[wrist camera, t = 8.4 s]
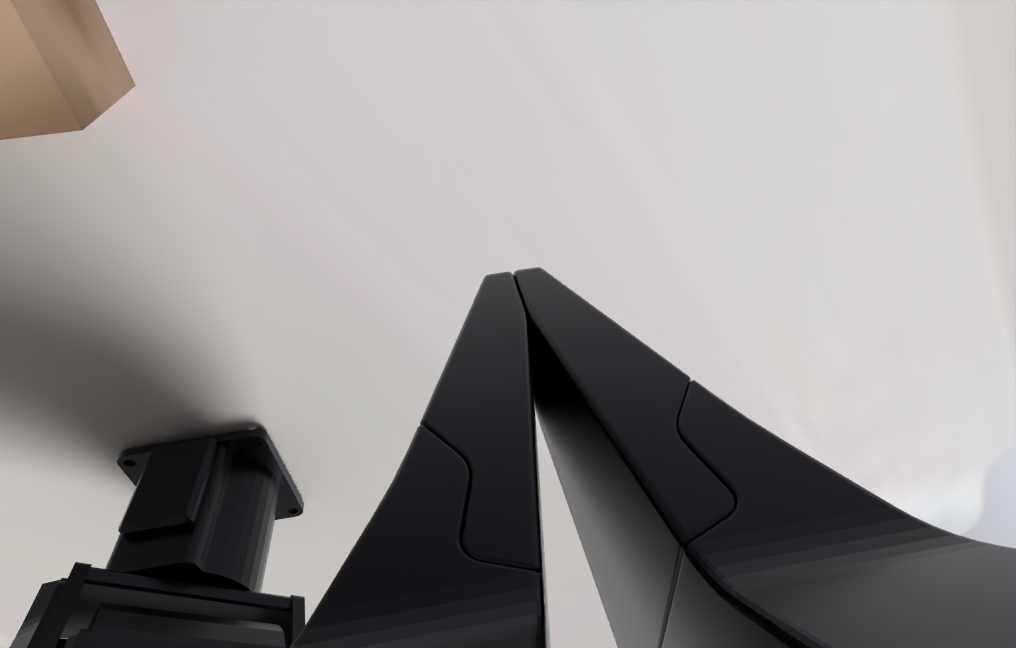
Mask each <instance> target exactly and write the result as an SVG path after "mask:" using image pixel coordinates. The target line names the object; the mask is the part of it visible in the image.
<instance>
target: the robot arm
mask: <svg viewBox="0 0 1016 648" xmlns="http://www.w3.org/2000/svg"><path fill="white" fill-rule="evenodd" d="M690 381H691V379H690V377H689V376H688V375H687V374H685V373H684V372H682V371H681V370H680V369H678V368H677V367H676V366H674V365H673V364H672V363H670V362H669V361H667V360H666V359H665V358H663V357H662V356H661V355H659V354H658V353H657V352H655V351H654V350H652V349H651V348H650V347H648V346H647V345H646V344H644V343H643V342H642V341H640V340H639V339H637V338H636V337H635V336H633V335H632V334H631V333H629V332H628V331H627V330H625V329H624V328H622V327H621V326H620V325H618V324H617V323H616V322H614V321H613V320H612V319H610V318H609V317H607V316H606V315H605V314H603V313H602V312H601V311H599V310H598V309H597V308H595V307H594V306H592V305H591V304H590V303H588V302H587V301H586V300H584V299H583V298H582V297H580V296H579V295H577V294H576V293H575V292H573V291H572V290H571V289H569V288H568V287H567V286H565V285H564V284H562V283H561V282H560V281H558V280H557V279H556V278H554V277H553V276H552V275H550V274H549V273H547V272H546V271H545V270H543V269H542V268H539V267H536V268H530V269H523V270H517V271H515V272H514V274H512V273H510V272H503V273H497V274H490V275H486V276H485V277H484V279H483V281H482V284H481V286H480V288H479V290H478V293H477V295H476V297H475V299H474V302H473V304H472V306H471V309H470V311H469V313H468V315H467V318H466V320H465V322H464V324H463V327H462V329H461V331H460V334H459V336H458V338H457V340H456V343H455V345H454V347H453V349H452V352H451V354H450V356H449V358H448V361H447V363H446V365H445V368H444V370H443V372H442V374H441V377H440V379H439V381H438V383H437V386H436V388H435V390H434V393H433V395H432V397H431V399H430V402H429V404H428V406H427V408H426V411H425V413H424V415H423V418H422V420H421V422H420V425H421V426H419V427H418V428H417V431H416V433H415V435H414V437H413V440H412V442H411V444H410V446H409V449H408V451H407V453H406V455H405V457H404V459H403V461H402V463H401V465H400V467H399V469H398V471H397V473H396V475H395V477H394V479H393V482H392V483H391V485H390V487H389V488H388V490H387V492H386V494H385V495H384V497H383V499H382V501H381V502H380V504H379V506H378V508H377V509H376V511H375V513H374V515H373V516H372V518H371V520H370V521H369V523H368V525H367V526H366V528H365V529H364V531H363V533H362V534H361V536H360V538H359V539H358V541H357V543H356V544H355V546H354V547H353V549H352V551H351V552H350V554H349V556H348V557H347V559H346V560H345V562H344V564H343V565H342V567H341V569H340V570H339V572H338V574H337V575H336V577H335V578H334V580H333V582H332V583H331V585H330V587H329V588H328V590H327V591H326V593H325V595H324V596H323V598H322V600H321V601H320V603H319V605H318V606H317V608H316V609H315V611H314V613H313V614H312V616H311V617H310V619H309V621H308V622H307V624H306V625H305V599H304V597H301V596H295V595H291V596H290V597H286V596H279V595H273V594H266V593H261V589H262V583H263V578H264V573H265V568H266V563H267V557H268V552H269V547H270V542H271V537H272V532H273V526H274V521H275V520H278V519H284V518H290V517H296V516H299V515H301V514H302V513H303V509H304V502H303V501H302V499H301V497H300V495H299V493H298V491H297V489H296V487H295V485H294V483H293V482H292V480H291V478H290V476H289V474H288V472H287V470H286V468H285V466H284V465H283V463H282V461H281V459H280V457H279V455H278V453H277V451H276V449H275V448H274V446H273V444H272V442H271V440H270V438H269V436H268V435H267V433H266V432H264V431H262V430H258V429H254V430H247V431H240V432H234V433H228V434H221V435H215V436H208V437H202V438H196V439H189V440H183V441H177V442H170V443H164V444H157V445H151V446H145V447H138V448H132V449H127V450H123V451H122V452H121V454H120V456H119V458H118V460H117V463H118V465H119V467H120V468H121V469H122V470H123V471H124V473H125V474H126V475H127V476H128V477H129V479H130V480H131V481H132V482H133V483H134V485H135V486H136V488H135V491H134V493H133V495H132V498H131V500H130V502H129V505H128V507H127V509H126V512H125V514H124V516H123V519H122V521H121V523H120V526H119V530H118V531H119V532H120V535H119V537H118V540H117V542H116V545H115V547H114V549H113V552H112V554H111V556H110V559H109V561H108V564H107V566H106V568H105V569H100V568H94V567H91V565H92V564H85V563H79V562H75V564H74V566H73V569H72V571H71V573H70V575H69V577H68V579H67V578H62V579H61V580H57V581H53V582H49V583H44V584H42V586H41V588H40V590H39V592H38V594H37V596H36V598H35V600H34V602H33V604H32V606H31V608H30V610H29V612H28V614H27V616H26V618H25V620H24V622H23V624H22V626H21V628H20V630H19V631H18V633H17V635H16V637H15V639H14V641H13V643H12V644H11V646H10V648H550V632H549V617H548V602H547V587H546V572H545V556H544V541H543V526H542V511H541V496H540V480H539V465H538V450H537V435H536V420H535V410H536V413H537V416H538V420H539V423H540V426H541V429H542V432H543V434H544V437H545V440H546V443H547V446H548V449H549V452H550V455H551V457H552V460H553V463H554V466H555V469H556V472H557V475H558V477H559V480H560V483H561V486H562V489H563V492H564V495H565V497H566V500H567V503H568V506H569V509H570V512H571V515H572V518H573V520H574V523H575V526H576V529H577V532H578V535H579V538H580V540H581V543H582V546H583V549H584V552H585V555H586V558H587V560H588V563H589V566H590V569H591V572H592V575H593V578H594V581H595V583H596V586H597V589H598V592H599V595H600V598H601V601H602V603H603V606H604V609H605V612H606V615H607V618H608V621H609V623H610V626H611V629H612V632H613V635H614V638H615V641H616V644H617V646H618V648H1016V549H1015V548H1009V547H1004V546H999V545H994V544H989V543H985V542H980V541H976V540H973V539H969V538H966V537H962V536H959V535H956V534H953V533H951V532H948V531H945V530H943V529H940V528H938V527H935V526H933V525H930V524H928V523H926V522H924V521H922V520H920V519H918V518H915V517H913V516H911V515H910V514H908V513H906V512H904V511H902V510H901V509H899V508H897V507H895V506H893V505H892V504H890V503H888V502H886V501H885V500H883V499H881V498H880V497H878V496H876V495H875V494H873V493H871V492H870V491H868V490H866V489H865V488H863V487H861V486H860V485H858V484H856V483H854V482H853V481H851V480H849V479H848V478H846V477H844V476H843V475H841V474H839V473H838V472H836V471H834V470H833V469H831V468H829V467H828V466H826V465H824V464H823V463H821V462H819V461H817V460H816V459H814V458H812V457H811V456H809V455H807V454H806V453H804V452H802V451H801V450H799V449H797V448H796V447H794V446H792V445H791V444H789V443H787V442H786V441H784V440H782V439H781V438H779V437H778V436H776V435H774V434H773V433H771V432H770V431H768V430H766V429H765V428H763V427H762V426H760V425H758V424H757V423H755V422H754V421H752V420H750V419H749V418H747V417H746V416H744V415H743V414H742V413H740V412H739V411H737V410H736V409H734V408H733V407H731V406H730V405H729V404H727V403H726V402H724V401H723V400H721V399H720V398H718V397H717V396H716V395H714V394H713V393H711V392H710V391H709V390H707V389H706V388H705V387H703V386H702V385H701V384H699V383H698V382H696V381H695V380H692V381H691V382H690ZM534 406H535V407H534ZM62 638H68V639H62Z"/></svg>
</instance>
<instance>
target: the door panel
mask: <svg viewBox="0 0 1016 648" xmlns="http://www.w3.org/2000/svg"><path fill="white" fill-rule="evenodd" d="M133 87H135V84H134V81H133V79H132V77H131V75H130V73H129V71H128V69H127V67H126V64H125V62H124V60H123V58H122V56H121V54H120V52H119V50H118V47H117V45H116V43H115V41H114V39H113V37H112V35H111V33H110V30H109V28H108V26H107V24H106V22H105V20H104V18H103V16H102V13H101V11H100V9H99V7H98V5H97V3H96V1H95V0H0V140H3V139H11V138H20V137H28V136H37V135H45V134H54V133H62V132H71V131H79V130H83V129H84V128H86V127H87V126H88V125H89V124H90V123H92V122H93V121H94V120H95V119H96V118H98V117H99V116H100V115H101V114H102V113H104V112H105V111H106V110H107V109H108V108H110V107H111V106H112V105H113V104H114V103H115V102H117V101H118V100H119V99H120V98H121V97H123V96H124V95H125V94H126V93H127V92H129V91H130V90H131V89H132V88H133Z"/></svg>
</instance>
